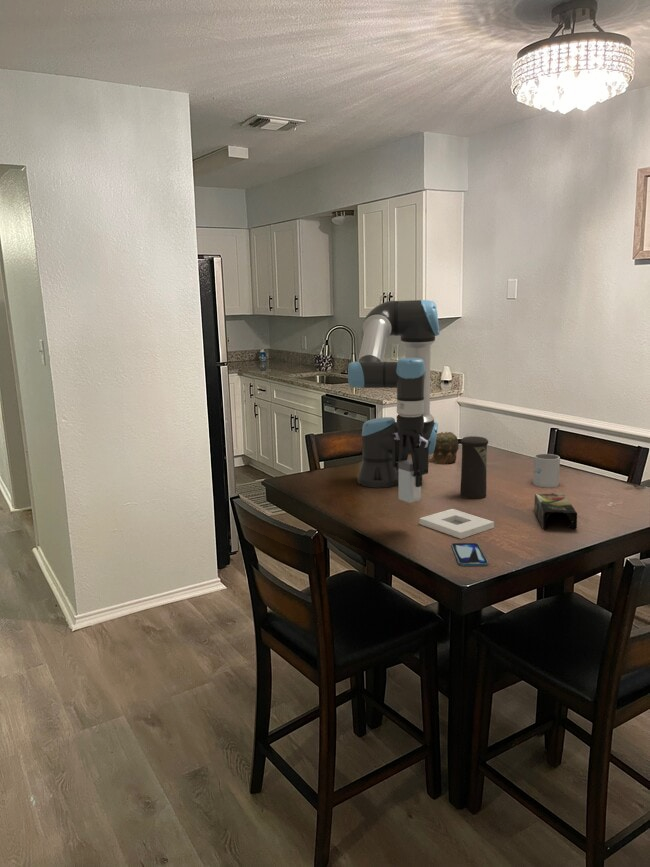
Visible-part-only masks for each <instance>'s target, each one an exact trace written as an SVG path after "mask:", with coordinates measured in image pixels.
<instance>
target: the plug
mask: <svg viewBox="0 0 650 867" xmlns="http://www.w3.org/2000/svg"><path fill="white" fill-rule="evenodd" d="M418 471H419V470H418ZM413 474H414V469H413V463H412V458H409V459H407V460H404V461H399V484H398V496H397V498H398V500H400V501H403V502H406V503H408V504H410V503H413V502H417V501H420V500H422V496H421V497H417V498H412V476H413Z"/></svg>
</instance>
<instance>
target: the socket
mask: <svg viewBox="0 0 650 867" xmlns="http://www.w3.org/2000/svg"><path fill="white" fill-rule="evenodd" d="M419 525H421V526H424V527H427V528H429V529H433V530H435V531H437V532H441V533H444V534H447V535H449V536H451V537H455V538H457V539H460V540H462V539H464V538H465V539H466V538H468V537H471V536H473V535H476V534H480V533H482V532H486V531H489V530H491V529H494V528H495V521H493V520H489V519H487V518H483V517H481V516H480V517H479V516H477V515H473V514H470V513H467V512H464V511H461V510H457V509H455V508H451V509H447V510H443V511H440V512H436V513H432V514H429V515H426V516H423V517H420V518H419Z"/></svg>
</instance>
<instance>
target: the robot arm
mask: <svg viewBox="0 0 650 867" xmlns="http://www.w3.org/2000/svg"><path fill="white" fill-rule="evenodd" d="M439 324H440V323H439V317H438V310H437V304H436V302H435V301H434V300H429V299H427V300H425V299H418V300H417V299H413V300H411V299H410V300H390V301H388V300H387V301H385V302H382V303H380V304H379V305H376V306H375V307H374V308H372V309H371V310H370V311H369V312H368V314H367V315H366V316H365V318H364V320H363V324H362V332H363V336H362V337H363V338H362V342H361V346H360V351H359V355H358V358H357V361H351V362H350V363H348V369H347V382H348V385H349V387H351V388H359V389H364V388H365V389H366V388H368V389H370V388H371V389H373V388H375V389H376V388H377V389H380V388H381V389H382V388H386V389H387V388H388V389H390V388H391V389H394V388H395V389H396V413H397V415H396V420H395V418H394V417H391V416H390V417H387V416H386V417H378V418H377V417H376V418H372V419H369V420H366V421H365V422H363V423H362V424H363V425H362V428H361V429H362V431H361V437H362V438H361V441H362V444H361V445H362V448H361V450H362V458H361V459H362V461H361V466H360V469H359V472H358V475H357V483H358V484H359V485H360V484H361V485H360V486H364V487H368V488H369V487H370V488H388V487H394V486H397V485H399V461H404V460H408V458H409V456H411V459H412V463H413V469H414V474H413V476H412V498H417V497H421V498H422V486H423V476H424V475H428V474H429V457H430V456H431V455H433V452H434V450H435V444H436V438H437V434H438V430H439V423H438V422H436V421H435V417H434V416H433V415H432V414H431V410H430V409H431V406H430V405H431V396H430V395H431V346H432V345H433V344H434V343H435V341H436V336H439V335H440V325H439ZM390 336H396V337H397V336H398V337H399V336H400V342H401V343H402V344H403V346H404V358H399V359H398V360H397V361H384V358H385V352H386V348H387V341H388V338H389V337H390ZM418 470H419V471H418Z"/></svg>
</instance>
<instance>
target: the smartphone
mask: <svg viewBox="0 0 650 867" xmlns="http://www.w3.org/2000/svg"><path fill="white" fill-rule="evenodd" d="M450 546H451V549H452V551H453V553H454V554H453V555H454V556H455V559H456V561H457V564H458V566H461V567H486V566H487V567H488V566H489V561H488V559H487V557H486V555H485V554H484V552H483V549H482V548H481V547H480V546H481V545H480V544H479V543H478V542H453V543H451V545H450Z"/></svg>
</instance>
